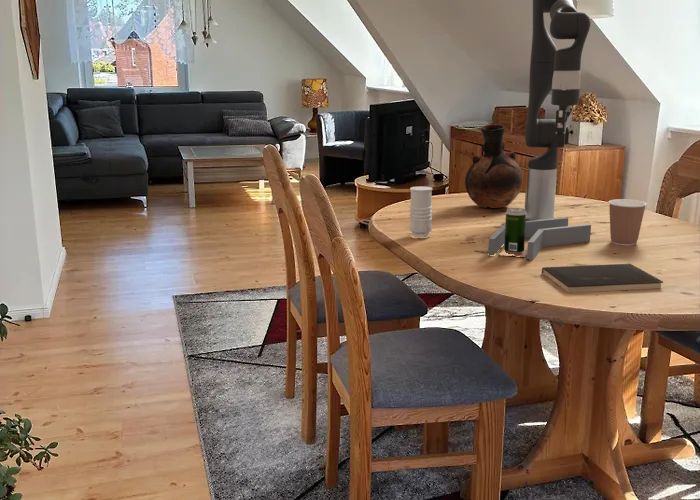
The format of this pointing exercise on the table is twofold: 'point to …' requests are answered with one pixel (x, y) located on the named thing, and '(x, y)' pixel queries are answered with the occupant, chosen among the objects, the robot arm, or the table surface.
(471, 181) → the ceramic vessel
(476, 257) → the table surface
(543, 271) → the hardcover book
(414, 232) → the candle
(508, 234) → the beer can
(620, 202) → the coffee cup
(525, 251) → the pad
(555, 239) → the bent channel
